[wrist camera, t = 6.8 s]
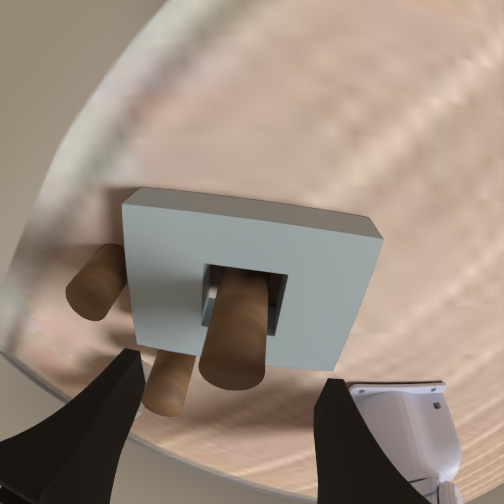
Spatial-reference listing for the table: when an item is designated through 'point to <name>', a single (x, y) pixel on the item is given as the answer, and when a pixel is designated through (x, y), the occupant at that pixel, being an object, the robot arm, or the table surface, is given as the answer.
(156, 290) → the socket block
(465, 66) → the table surface
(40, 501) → the robot arm
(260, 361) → the tall dowel
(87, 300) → the short dowel
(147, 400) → the medium dowel
